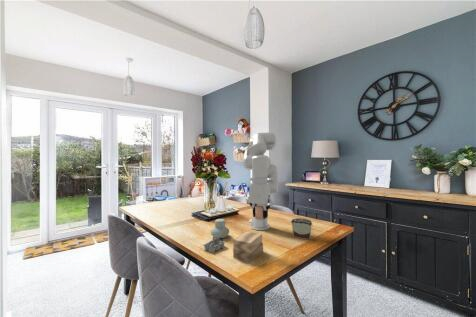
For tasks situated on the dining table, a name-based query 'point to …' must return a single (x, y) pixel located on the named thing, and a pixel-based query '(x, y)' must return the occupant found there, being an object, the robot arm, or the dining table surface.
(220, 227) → the air freshener
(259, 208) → the pink rounded capsule
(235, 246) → the tower top
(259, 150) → the robot arm
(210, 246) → the egg carton
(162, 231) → the dining table surface
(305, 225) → the food container
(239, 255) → the tower base
